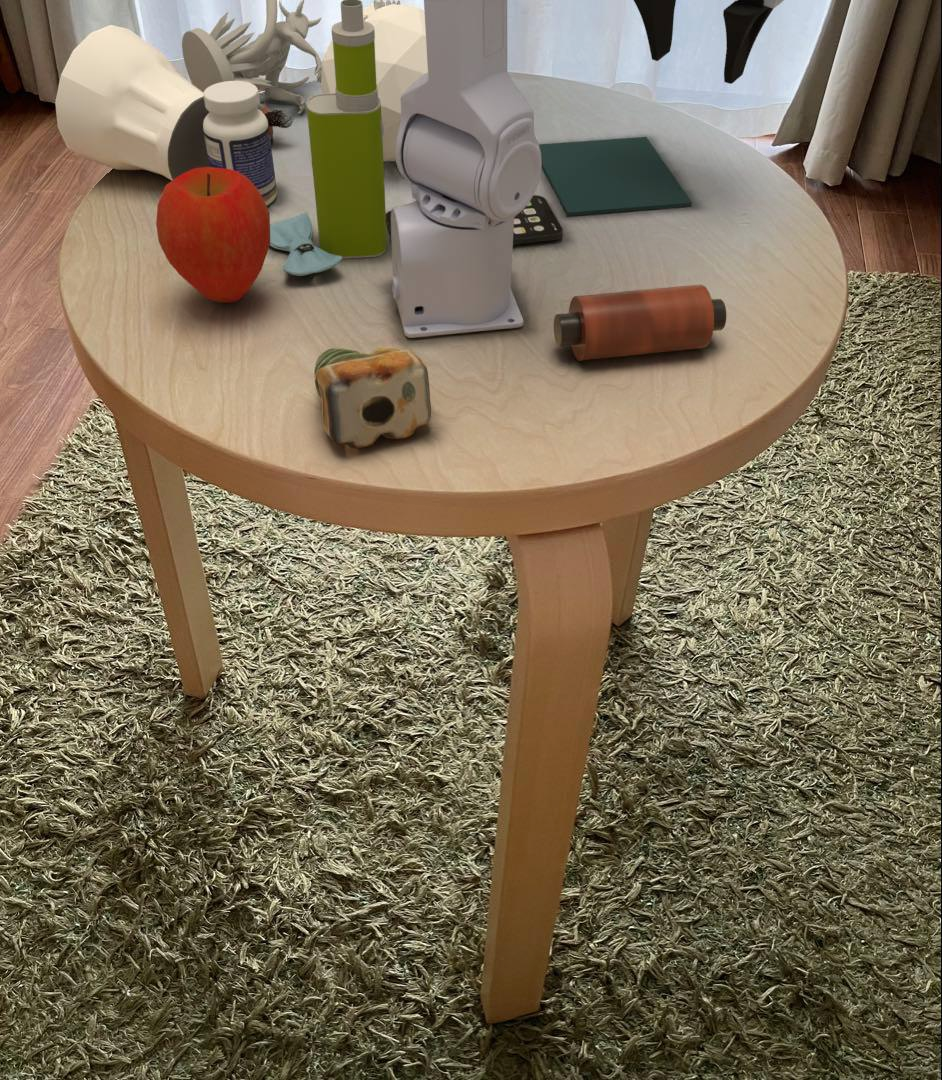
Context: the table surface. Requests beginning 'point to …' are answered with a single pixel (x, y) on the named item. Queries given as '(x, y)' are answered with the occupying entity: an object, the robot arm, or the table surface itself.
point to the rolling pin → (639, 322)
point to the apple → (214, 231)
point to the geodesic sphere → (389, 61)
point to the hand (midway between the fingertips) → (696, 66)
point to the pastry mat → (610, 176)
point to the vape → (349, 145)
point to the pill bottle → (239, 134)
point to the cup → (130, 106)
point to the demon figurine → (250, 53)
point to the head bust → (276, 119)
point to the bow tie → (300, 246)
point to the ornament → (372, 394)
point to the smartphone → (529, 223)
